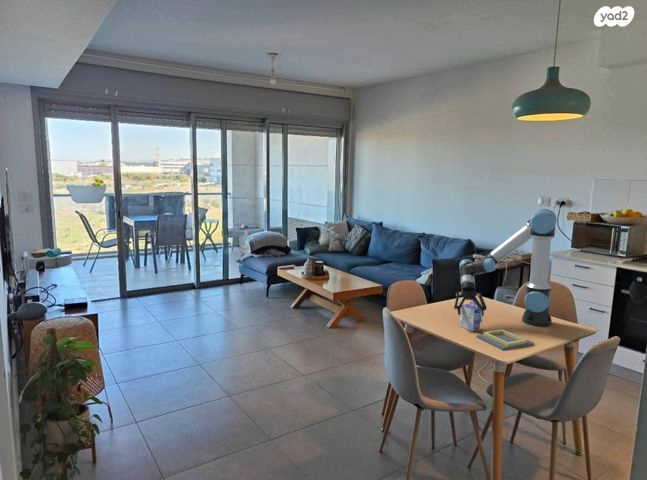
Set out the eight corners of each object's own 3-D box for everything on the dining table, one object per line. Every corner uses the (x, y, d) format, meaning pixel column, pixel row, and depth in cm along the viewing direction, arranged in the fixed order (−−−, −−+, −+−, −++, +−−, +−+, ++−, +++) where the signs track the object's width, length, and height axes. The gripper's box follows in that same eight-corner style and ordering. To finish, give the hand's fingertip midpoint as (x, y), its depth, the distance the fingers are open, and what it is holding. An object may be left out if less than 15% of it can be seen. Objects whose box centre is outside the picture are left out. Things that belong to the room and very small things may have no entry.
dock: (506, 332, 234) (506, 328, 233) (533, 344, 217) (534, 339, 217) (476, 337, 226) (476, 332, 226) (502, 350, 210) (502, 345, 209)
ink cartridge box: (480, 330, 236) (482, 304, 234) (472, 332, 234) (474, 305, 232) (466, 324, 245) (468, 299, 243) (459, 326, 242) (460, 300, 240)
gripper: (487, 289, 250) (491, 325, 237) (446, 287, 253) (449, 322, 240) (489, 282, 244) (494, 318, 231) (448, 280, 247) (451, 316, 234)
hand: (471, 320), depth 235 cm, fingers closed on ink cartridge box, 9 cm apart
